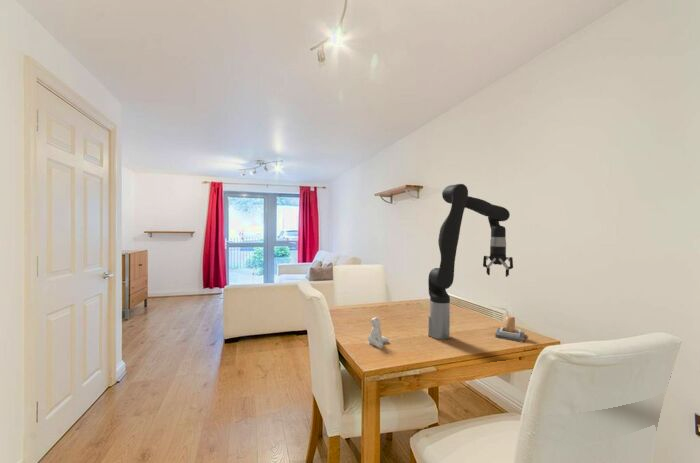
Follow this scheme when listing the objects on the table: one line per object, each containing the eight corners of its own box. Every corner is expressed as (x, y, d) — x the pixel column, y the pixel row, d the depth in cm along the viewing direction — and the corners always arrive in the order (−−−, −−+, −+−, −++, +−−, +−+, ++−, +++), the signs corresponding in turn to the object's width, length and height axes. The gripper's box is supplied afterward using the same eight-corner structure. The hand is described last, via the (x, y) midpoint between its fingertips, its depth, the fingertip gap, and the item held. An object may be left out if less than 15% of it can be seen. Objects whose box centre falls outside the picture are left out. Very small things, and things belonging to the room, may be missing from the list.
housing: (495, 336, 144) (495, 331, 144) (498, 330, 154) (498, 324, 154) (523, 342, 138) (523, 336, 138) (524, 334, 148) (524, 329, 148)
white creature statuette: (381, 349, 127) (381, 321, 127) (363, 345, 132) (364, 318, 132) (389, 342, 136) (389, 316, 136) (372, 338, 140) (372, 313, 140)
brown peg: (505, 333, 145) (505, 317, 145) (505, 331, 149) (506, 315, 149) (514, 335, 143) (514, 319, 143) (515, 333, 146) (515, 317, 146)
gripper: (482, 245, 158) (482, 275, 158) (512, 246, 150) (512, 278, 150) (484, 244, 164) (484, 273, 164) (513, 245, 156) (513, 276, 156)
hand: (497, 275), depth 157 cm, fingers open, 8 cm apart
